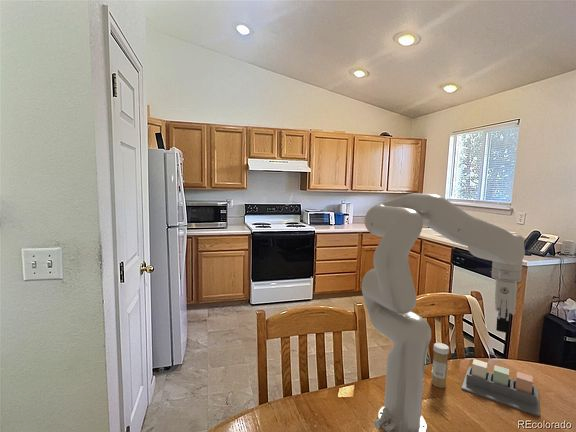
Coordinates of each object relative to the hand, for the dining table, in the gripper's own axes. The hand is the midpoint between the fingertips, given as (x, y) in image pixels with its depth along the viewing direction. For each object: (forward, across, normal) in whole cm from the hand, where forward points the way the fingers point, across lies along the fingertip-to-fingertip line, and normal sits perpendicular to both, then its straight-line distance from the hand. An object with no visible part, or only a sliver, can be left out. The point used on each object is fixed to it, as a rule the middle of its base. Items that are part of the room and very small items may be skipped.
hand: (502, 330), depth 100 cm
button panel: (+21, +2, 0) cm, 21 cm away
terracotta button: (+19, +2, -6) cm, 20 cm away
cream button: (+18, +2, +6) cm, 19 cm away
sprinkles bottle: (+21, -7, +16) cm, 27 cm away
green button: (+18, +2, 0) cm, 19 cm away
